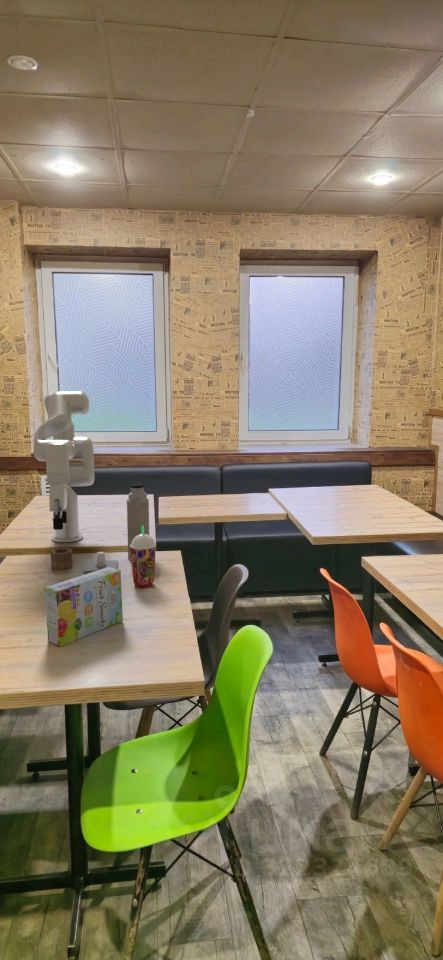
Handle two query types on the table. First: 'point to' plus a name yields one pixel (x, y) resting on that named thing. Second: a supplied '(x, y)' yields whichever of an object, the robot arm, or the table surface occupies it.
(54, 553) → the walnut ring
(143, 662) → the table surface
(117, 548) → the table surface
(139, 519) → the thermos bottle
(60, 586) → the snack box
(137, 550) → the smoothie
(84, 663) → the table surface
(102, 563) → the post stand
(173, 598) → the table surface
